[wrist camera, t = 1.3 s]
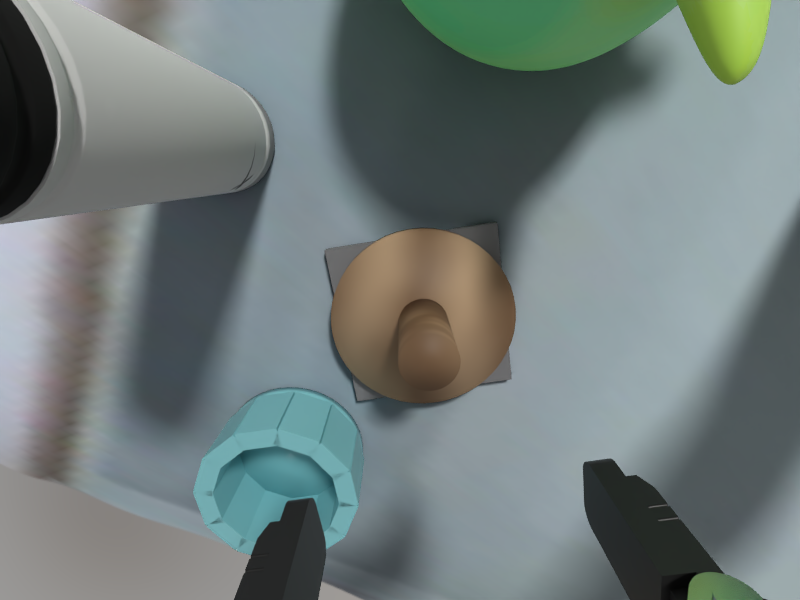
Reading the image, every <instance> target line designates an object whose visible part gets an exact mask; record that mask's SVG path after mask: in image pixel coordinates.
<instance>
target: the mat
mask: <svg viewBox="0 0 800 600" xmlns="http://www.w3.org/2000/svg"><path fill="white" fill-rule="evenodd" d="M447 231H450V232H453V233H456V234H459V235H461V236H463V237H465V238H468V239H470V240H471V241H473V242H474V243H476V244H477V245H479V246H480V247H481V248H482V249H484V250H485V251H486V252H487V253H488V254H489V255H490V256H491V257H492V258H493V259H494V260H495V261H496V262H497V264H498V265H499V266H500V268H501V258H500V247H499V235H498V224H497V222H490V223H484V224H478V225H471V226H465V227H459V228H453V229H447ZM373 242H375V241H372V242H366V243H360V244H354V245H348V246H341V247H335V248H329V249H326V250H325V255H326V260H327V264H328V269H329V273H330V278H331V282H332V287H333V292H334V294H335V291H336V288H337V286H338V284H339V281H340V279H341V277H342V276H343V274H344V272H345V271H346V269H347V267H348V266H349V265H350V263H351V262H352V261H353V260H354V258H355V257H356V256H357V255H358V254H359V253H361V252H362V251H363V250H364V249H365V248H366V247H368V246H369V245H371V244H372V243H373ZM351 374H352V379H353V383H354V388H355V392H356V397H357V401H362V400H369V399H376V398H383V397H387V396H384V395H382V394H379V393H378V392H376V391H374V390H372V389H371V388H369V387H368V386H366V385H365V384H364V383H362V382H361V381H360V380H359V379H358V378H357V377H356V376H355V375H354V374H353V373H352V372H351ZM509 379H511V368H510V357H509V348H508V351H507V353H506V355H505V356H504V358H503V360H502V361H501V363H500V364H499V365H498V367H497V368H496V369H495V371H494V372H493V373H492V374H491V375H490V376H489V377H488V378H487V379H486V380H484V381H483V382H482V383H488V382H495V381H502V380H509Z"/></svg>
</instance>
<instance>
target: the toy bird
mask: <svg viewBox="0 0 800 600" xmlns="http://www.w3.org/2000/svg"><path fill="white" fill-rule="evenodd" d="M401 1H402V2H403V3H404V5H405V6H406V7H407V9H408V10H409V11H410V12H411V13H412V14H413V16H414V17H415V18H416V19H417V20H418V21H419V22H420V23H421V24H422V25H423V26H424V27H425V28H426V29H427V30H428V31H429V32H431V33H432V34H433V35H434V36H435V37H437V38H438V39H439V40H441V41H442V42H443V43H445V44H446V45H448V46H449V47H451V48H452V49H454V50H456V51H458V52H459V53H461V54H463V55H465V56H467V57H469V58H472V59H474V60H476V61H479V62H482V63H485V64H488V65H491V66H495V67H499V68H504V69H511V70H520V71H542V70H551V69H558V68H563V67H568V66H571V65H575V64H578V63H582V62H584V61H587V60H590V59H592V58H595V57H597V56H600V55H602V54H604V53H606V52H608V51H610V50H612V49H614V48H616V47H618V46H620V45H621V44H623V43H625V42H627V41H628V40H630V39H632V38H633V37H635V36H636V35H638V34H639V33H641V32H642V31H644V30H645V29H647V28H648V27H650V26H651V25H652V24H654V23H655V22H657V21H658V20H659V19H661V18H662V17H663V16H665V15H666V14H667V13H668V12H670V11H671V10H672V9H673V8H674V7H676V6H677V5H679V8H680V10H681V12H682V14H683V17H684V19H685V21H686V23H687V26H688V28H689V30H690V32H691V34H692V36H693V39H694V41H695V43H696V45H697V47H698V49H699V51H700V53H701V54H702V56H703V58H704V60H705V61H706V63H707V65H708V66H709V68H710V69H711V71H712V72H713V73H714V75H715V76H716V77H717V78H718V79H719V80H720V81H722V82H723V83H725V84H729V85H733V84H736V83H738V82H740V81H741V80H743V79H744V78H745V77H746V76H747V75H748V74H749V73H750V72H751V70H752V69H753V68H754V66H755V64H756V62H757V60H758V58H759V55H760V53H761V50H762V47H763V43H764V39H765V35H766V31H767V25H768V20H769V13H770V7H771V0H401Z"/></svg>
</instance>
